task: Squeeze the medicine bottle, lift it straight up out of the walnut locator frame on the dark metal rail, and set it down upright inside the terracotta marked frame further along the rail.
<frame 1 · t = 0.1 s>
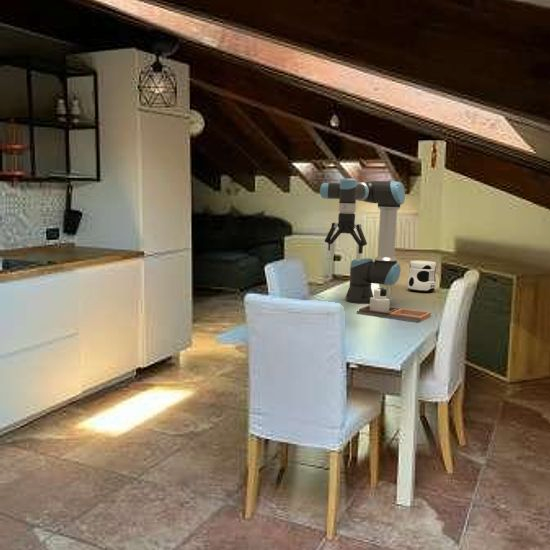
hand: (344, 259, 278), 28 cm above the table, fingers open, 13 cm apart
milk container: (421, 291, 371), on the table
rail bar: (387, 317, 289), on the table
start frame: (379, 312, 300), on the table
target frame: (410, 316, 292), on the table
medicine bottle: (379, 313, 300), resting in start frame
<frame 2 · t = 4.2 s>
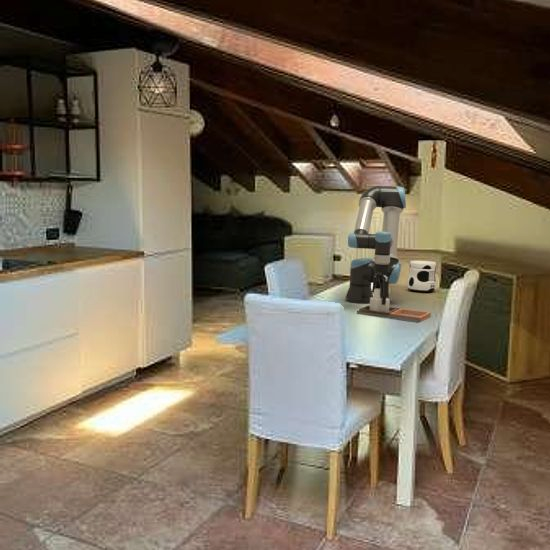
hand: (379, 309, 300), 2 cm above the table, fingers closed on medicine bottle, 8 cm apart
medicine bottle: (379, 312, 300), resting in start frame, touching gripper
everything else where it was.
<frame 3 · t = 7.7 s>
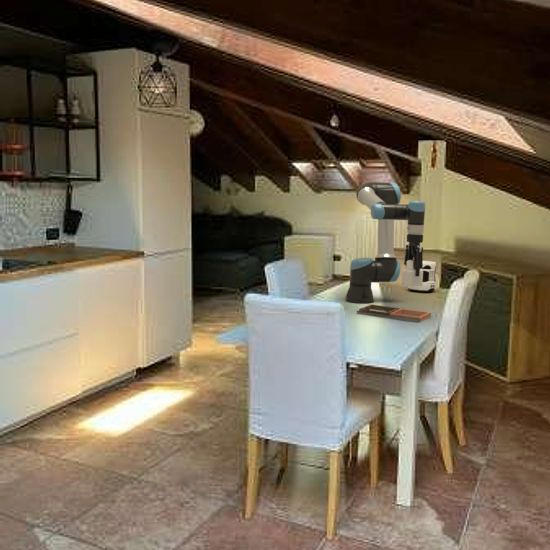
hand: (412, 281, 289), 17 cm above the table, fingers closed on medicine bottle, 8 cm apart
medicine bottle: (411, 285, 290), point 15 cm above the table, touching gripper
everything else where it was.
when the fingers open (3 cm above the table, at t = 11.1 s): medicine bottle drops 1 cm, resting in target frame.
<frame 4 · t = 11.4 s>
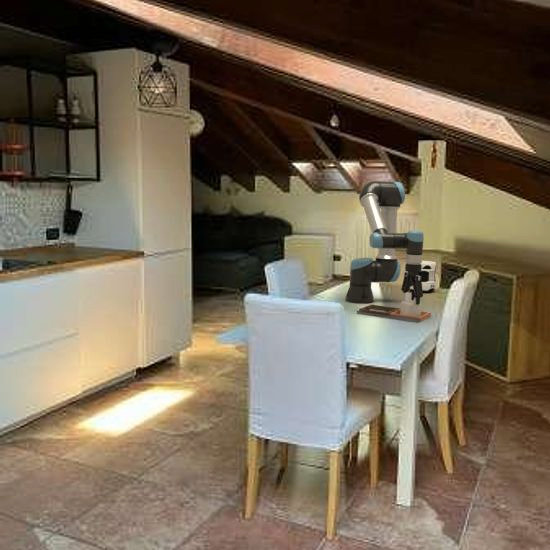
hand: (410, 308, 291), 4 cm above the table, fingers open, 11 cm apart
medicine bottle: (410, 317, 292), resting in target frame
everything else where it was.
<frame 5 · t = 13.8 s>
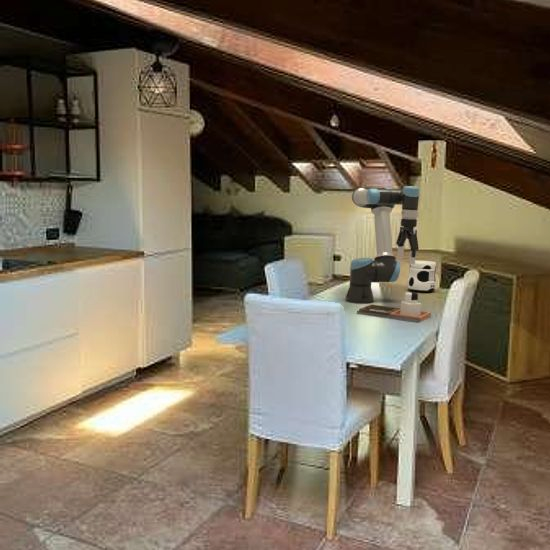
hand: (405, 261, 298), 26 cm above the table, fingers open, 13 cm apart
nothing on the table moved.
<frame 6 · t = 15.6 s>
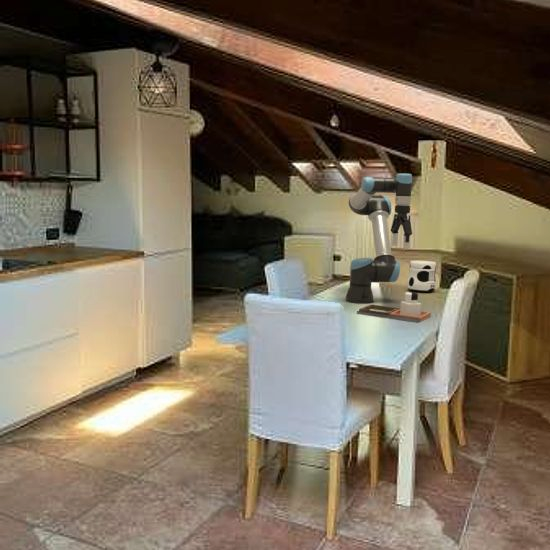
hand: (400, 247, 305), 32 cm above the table, fingers open, 13 cm apart
nothing on the table moved.
at the end: medicine bottle 0.1 cm from the target spot, resting in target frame; medicine bottle tilted 0°; the gripper is holding nothing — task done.
